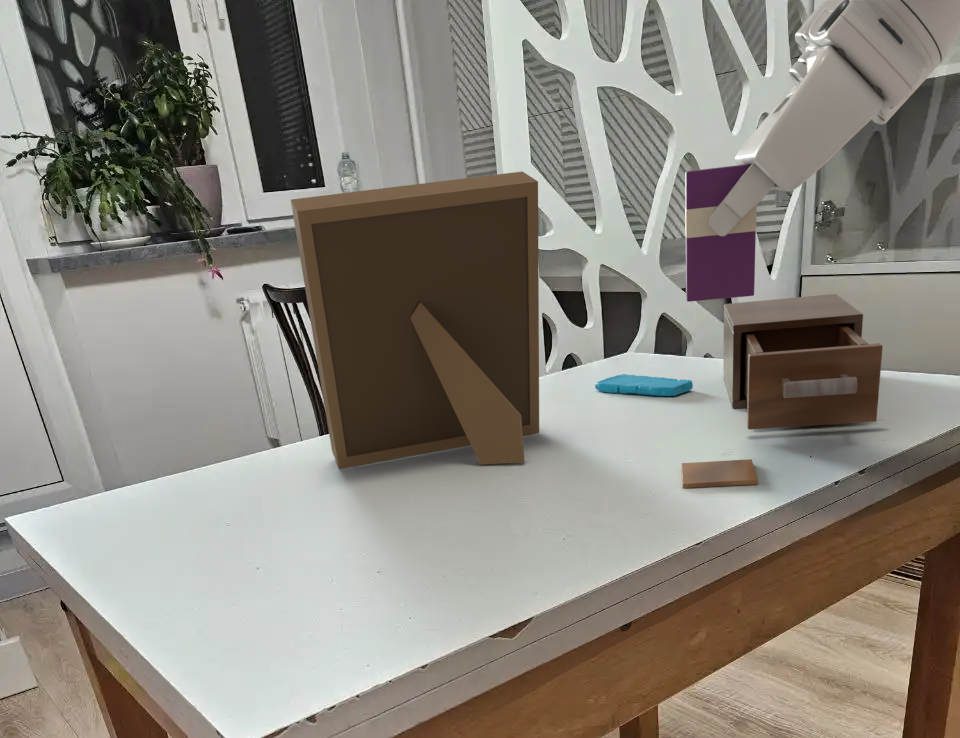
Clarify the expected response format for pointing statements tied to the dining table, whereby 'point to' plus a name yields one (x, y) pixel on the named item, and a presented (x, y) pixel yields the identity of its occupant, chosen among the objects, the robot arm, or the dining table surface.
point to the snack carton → (717, 239)
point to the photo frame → (425, 316)
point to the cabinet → (773, 318)
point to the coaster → (718, 473)
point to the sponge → (644, 385)
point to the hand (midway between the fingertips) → (711, 228)
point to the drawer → (810, 377)
